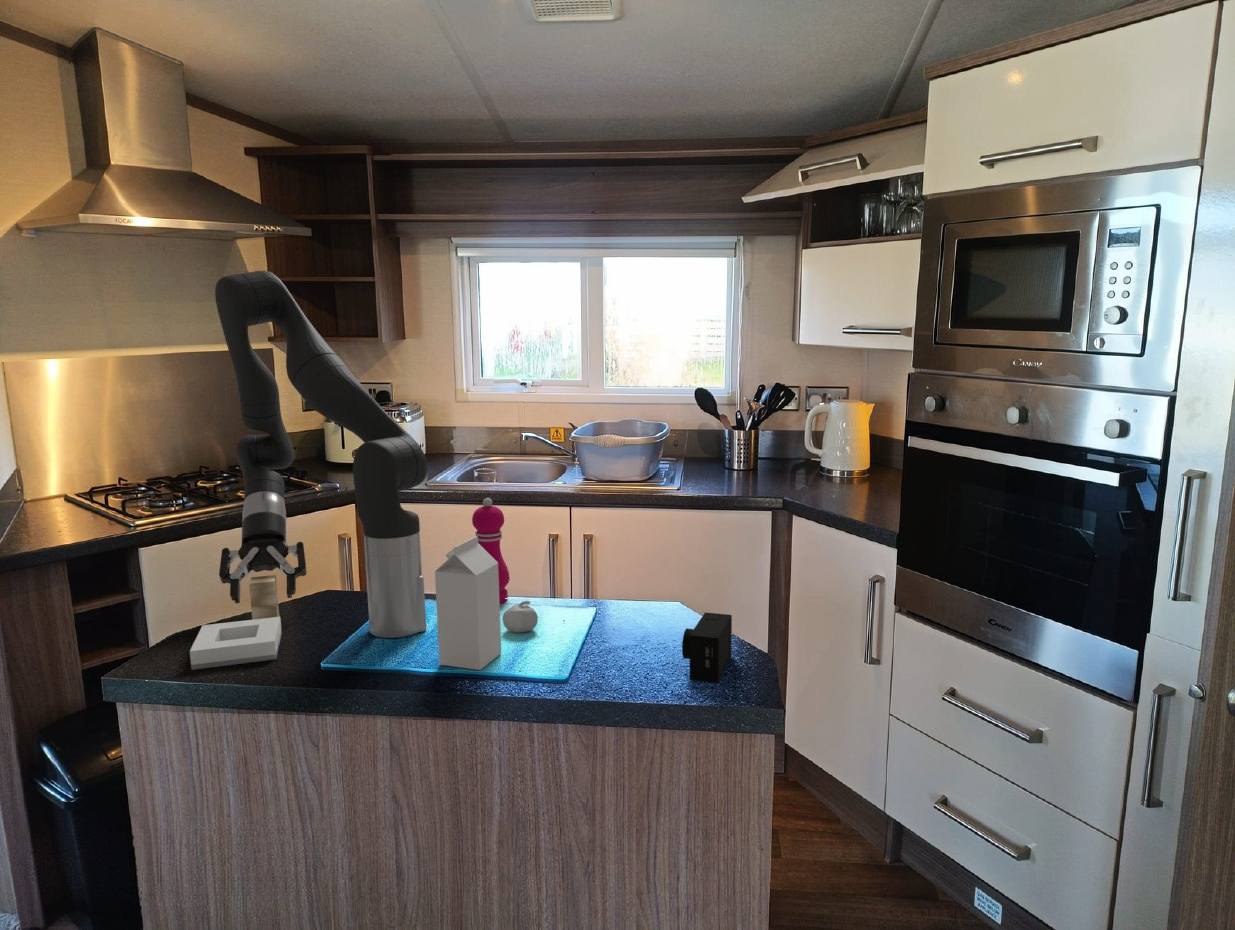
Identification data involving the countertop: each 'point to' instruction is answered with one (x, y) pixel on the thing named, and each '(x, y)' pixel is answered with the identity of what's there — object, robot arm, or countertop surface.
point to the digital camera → (708, 647)
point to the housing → (236, 643)
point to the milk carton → (468, 607)
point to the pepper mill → (492, 539)
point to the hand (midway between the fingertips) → (263, 598)
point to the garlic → (520, 618)
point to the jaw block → (264, 597)
